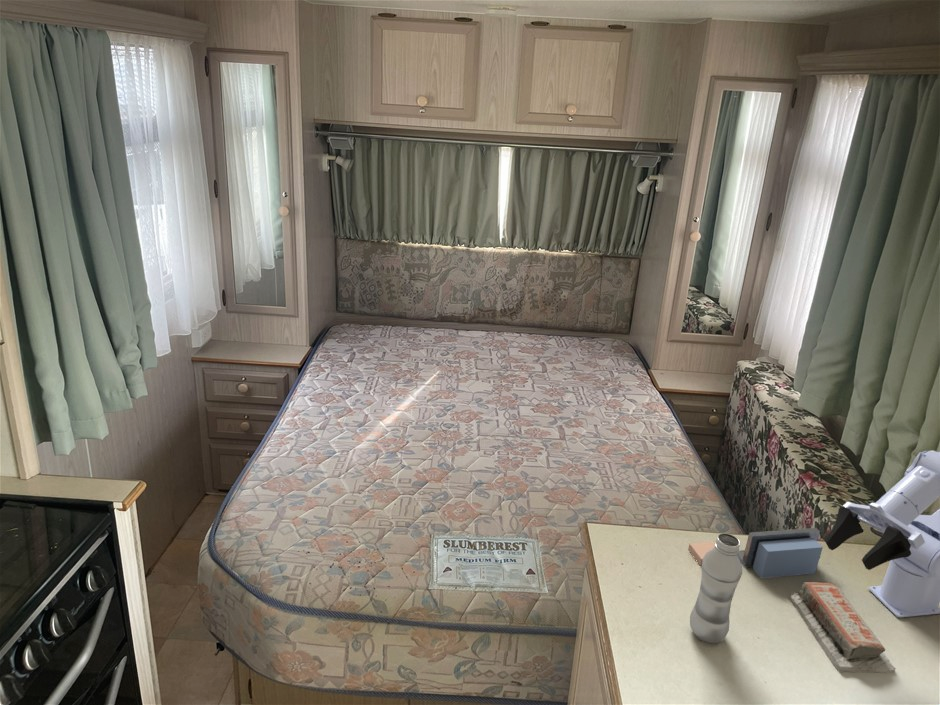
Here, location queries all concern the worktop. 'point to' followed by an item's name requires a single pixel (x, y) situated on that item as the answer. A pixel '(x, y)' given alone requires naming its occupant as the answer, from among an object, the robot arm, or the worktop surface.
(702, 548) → the lying book
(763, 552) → the grayish blue rectangular block
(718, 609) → the plastic bottle
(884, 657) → the packaged product
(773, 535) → the bookend
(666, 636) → the worktop surface
